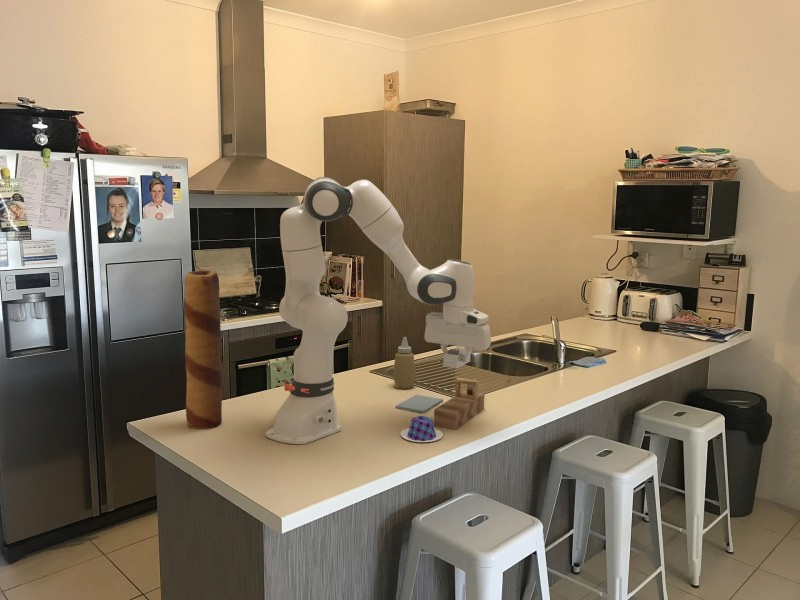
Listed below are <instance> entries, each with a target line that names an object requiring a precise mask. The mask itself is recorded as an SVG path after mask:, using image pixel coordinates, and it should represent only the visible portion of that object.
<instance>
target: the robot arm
mask: <svg viewBox="0 0 800 600" xmlns="http://www.w3.org/2000/svg"><path fill="white" fill-rule="evenodd" d="M345 216H349V217H350V218H352V219H353V221H354V222H355V223H356V224H357V226H358V227H359V228H360V230H361V231H362V232H363V233H364V235H365V236H367V238H368V239H369V240H370V241H371V242H372V243H373V244H374V245H375V246H377V247H378V248H379V249H380V250H381V251H382V252H384V254H385V255H387V257H388V258H389V260H390V261H391V262H392V264H393V266H394V267H395V268H396V270H397V271H398V272H399V273H400V276H401V278H402V280H403V285H404V289H405V291H406V294H408V296H409V297H410V298H412V299H414V300H416V301H419V302H421V303H424V304H426V305H430V306H433V305H441V304H443V305H442V312H437V311H430V312H428V313H427V314H426V315H425V329H424V330H425V331H424V340H425V342H427V343H432V344H440V349H441V350H442V354H444V353H445V352H447V351H448V350H449V349H448V348H447V347H448V346H453V347H462V348H466V351H467V353H466V354H465V355H463V356H462V362H468V360H469V355H470V353H471V354H472V352H473V349H475V350H481V351H485V350H488V349H489V348H490V346H491V342H492V341H491V340H492V337H491V335H492V334H491V327H490V325H489V324H488V323H487V322H489V318H490V317H489V315H488V314H486V313H484V312H482V311H479V310H477V309H475V308H474V302H473V301H474V300H473V295H474V292H475V274H474V272H475V271H474V268H473V265H472V264H471V263H469V262H467V261H463V260H459V259H455V258H454V259H453V258H449V259H447V260H446V262H444V263H443V264H440V265H439V266H437V267H435V268H432V269H429V268H428V267H426V266H424V265H422V264H421V263H419V261H418V260H417V258H416V257H415V256H414V254H413V253H412V252H411V250H410V249H409V247H408V246H407V244H406V243H405V241H404V237H403V235H404V234H403V233H404V228H405V226H404V221H403V220H402V218H401V217H400V215H399V213H398V211H397V209H396V208H395V207H394V205H393V204H392V203H391V201H390V200H389V198H388V197H387V196H386V195H385V194H384V193H383V192H382V191H381V190H380V189H379V188H378V186H376V185H375V184H374V183H372V182H371V181H370V180H368V179H360V180H359V179H358V180H357V181H353V183H351V184H350V185H347V186H343V185H341V184H340V183H338V181H336V180H335V179H333V178H331V177H327V176H320V177H316V178H315V179H313V180H312V181H311V182H310V183H309V184H308V185H307V188H306V189H305V192H304V195H303V197H302V200H301V203H300V205H297V206H293V207H289V208H288V209H286V210H285V211H283V212H282V214H281V216H280V220H279V221H280V222H279V223H280V224H279V229H280V230H279V231H280V233H279V234H280V235H279V236H280V245H281V250H282V251H281V252H282V257H283V263H284V270H285V271H284V272H285V291H284V296H283V297H282V299H281V300H280V303H279V306H278V307H279V311H278V312H279V315H280V317H281V319H282V320H283V321H284V322H285V323H287V324H288V325H289V326H291V327H292V328H295V329H299V330H302V336H301V341H300V344H299V346H298V347H297V348H296V349H295V351H294V352H293V379H292V380H291V381H292V382H291V384H289V383H285V384H284V387H283V390H284V391H286V392H290V393H289V394H288V396H287V398H286V399H285V400H284V402H283V403H282V404H281V406H280V407H279V408H278V410H276V412H275V415H274V419H273V420H274V422H273V426H271V428H269V429H267V430H266V431H265V436H266V437H267V438H269V439H270V440H273V441H276V442H280V443H283V444H284V443H285V444H291V445H292V444H293V445H305V444H309V443H312V442H313V441H317V440H318V439H319V440H320V439H322V438H324V437H328V436H330V435H333V434H336V433H338V432H340V431H341V430H342V426H341V425H340V424H339V417H338V416H339V415H338V406H337V401H336V399H335V396H334V390H335V382H334V381H335V380H334V377H333V355H334V354H333V353H334V348H335V345H336V344H335V343H336V341H337V338H338V336H339V335H340V334H341V332H343V331H344V329H345V328H346V326H347V323H348V311H347V308H346V307H345V306H344V305H343V304H342V303H341V302H339V301H338V300H336V299H335V298H332V297H330V296H325V295H322V294H321V292H320V284H321V278H322V277H323V276H324V275H325V273H326V265H325V258H324V257H325V256H324V251H323V245H322V238H321V224H322V222H331V221H335V220H337V219H340V218H343V217H345ZM468 363H469V362H468Z"/></svg>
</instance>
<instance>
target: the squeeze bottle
mask: <svg viewBox="0 0 800 600" xmlns="http://www.w3.org/2000/svg"><path fill="white" fill-rule="evenodd" d="M414 356H415V355H414V353H413V352H412V347H411V346H409V342H408V338H407V336H403V337H402V341H401V345H400V346H398V347H397V352H396V353H395V357H394V363H393V373H392V378H393V382H394V385H395V388H397V389H403V390H405V389H407V390H408V389H412V388H413V386H414V383H415V381H416V378H417V377H416V366H415V357H414Z"/></svg>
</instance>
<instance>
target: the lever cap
mask: <svg viewBox="0 0 800 600" xmlns="http://www.w3.org/2000/svg"><path fill="white" fill-rule="evenodd" d="M447 350H448V351H447V352H445V353H443V359H442V360H443V361H442V365H443V367H444V368H452V369H459V368H461V367H463V366H465V365H466V364H468V363H470V362H471V354H472V352H471V353H470V355H469V360H468V362H462V356H463V355H465V354H466V353H467V351H466V347H460V346H455V347H454V348H450V349H447Z"/></svg>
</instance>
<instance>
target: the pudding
mask: <svg viewBox="0 0 800 600" xmlns="http://www.w3.org/2000/svg"><path fill="white" fill-rule="evenodd" d="M436 435H437V437H436ZM443 435H444V434H443V432H442V430H441V431H440V429H437V428H435V426H434V420H433V419H432V418H431V417H429V416H425V415H418V416H415V417H412V418H411V421H410V423H409V427H408V428H407V427H406V428H405V429H402V431H400V436H401V437H402V438H403V439H405V440H407V441H411V442H416V443H429V442H435V441H439V440H440V439H442V438H443ZM426 440H427V441H426Z"/></svg>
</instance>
